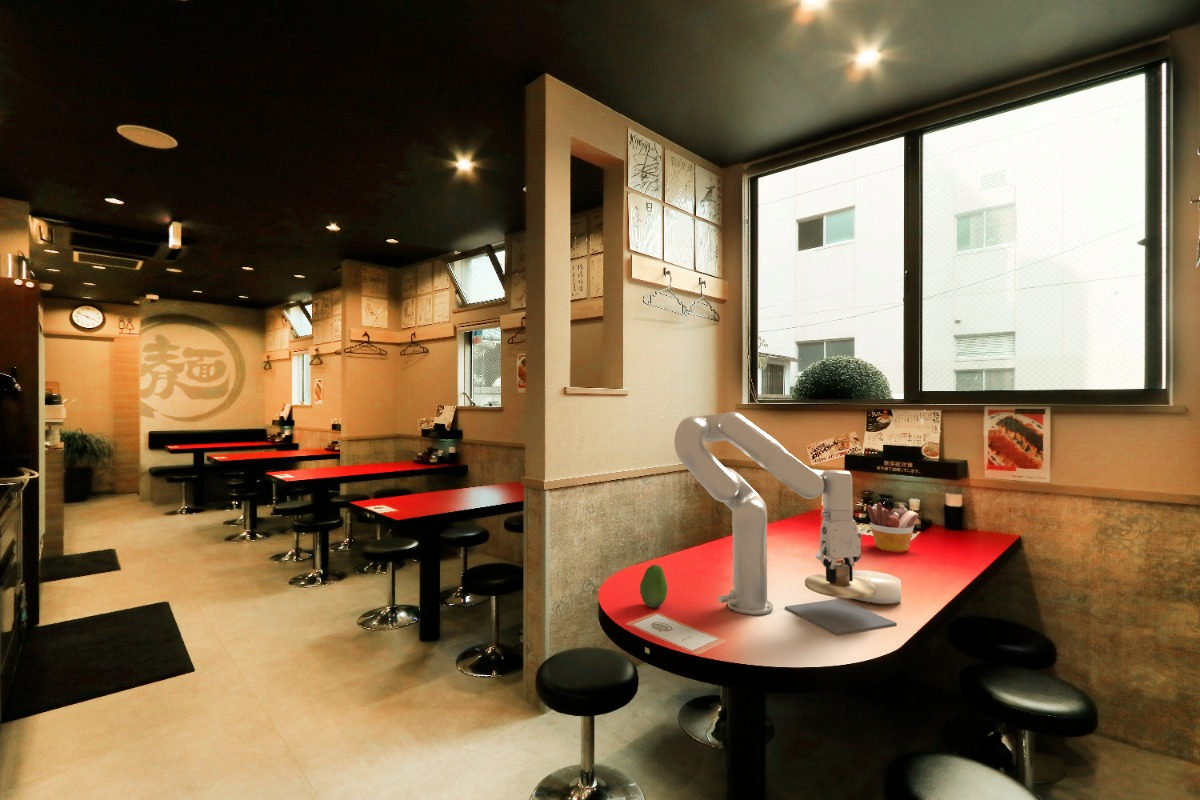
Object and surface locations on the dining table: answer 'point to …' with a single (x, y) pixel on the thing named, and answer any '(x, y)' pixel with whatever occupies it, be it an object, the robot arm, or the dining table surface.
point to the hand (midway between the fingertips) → (839, 580)
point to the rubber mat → (840, 616)
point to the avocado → (653, 586)
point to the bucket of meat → (891, 527)
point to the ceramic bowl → (881, 586)
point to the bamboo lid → (841, 584)
